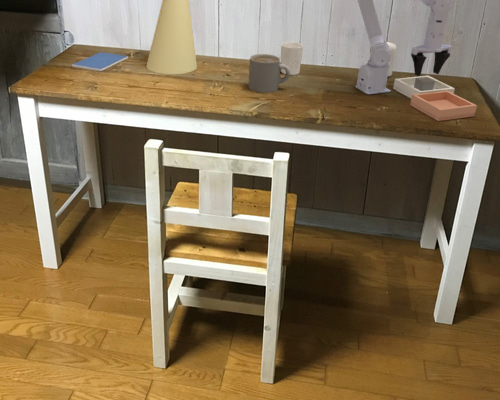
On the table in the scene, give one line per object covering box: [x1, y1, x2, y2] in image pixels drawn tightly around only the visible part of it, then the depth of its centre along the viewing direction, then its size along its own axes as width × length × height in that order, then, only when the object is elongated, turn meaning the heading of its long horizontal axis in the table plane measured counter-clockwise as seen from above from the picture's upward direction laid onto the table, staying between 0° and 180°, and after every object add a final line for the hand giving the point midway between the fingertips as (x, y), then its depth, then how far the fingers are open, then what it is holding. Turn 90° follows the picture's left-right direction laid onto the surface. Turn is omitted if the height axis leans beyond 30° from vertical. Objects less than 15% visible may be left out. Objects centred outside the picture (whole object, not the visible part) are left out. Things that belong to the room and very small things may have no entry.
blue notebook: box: [71, 51, 129, 72], centre depth 207 cm, size 19×13×1 cm, turn 161°
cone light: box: [146, 0, 198, 75], centre depth 200 cm, size 25×18×35 cm
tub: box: [392, 75, 456, 99], centre depth 191 cm, size 14×14×4 cm
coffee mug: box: [248, 53, 291, 94], centre depth 187 cm, size 13×10×10 cm
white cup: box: [280, 41, 304, 76], centre depth 203 cm, size 8×8×10 cm
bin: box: [409, 91, 478, 122], centre depth 178 cm, size 14×14×4 cm
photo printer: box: [369, 41, 397, 77], centre depth 203 cm, size 10×4×12 cm, turn 123°
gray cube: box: [414, 76, 435, 91], centre depth 190 cm, size 4×4×4 cm
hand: (426, 74), depth 188 cm, fingers open, 7 cm apart
